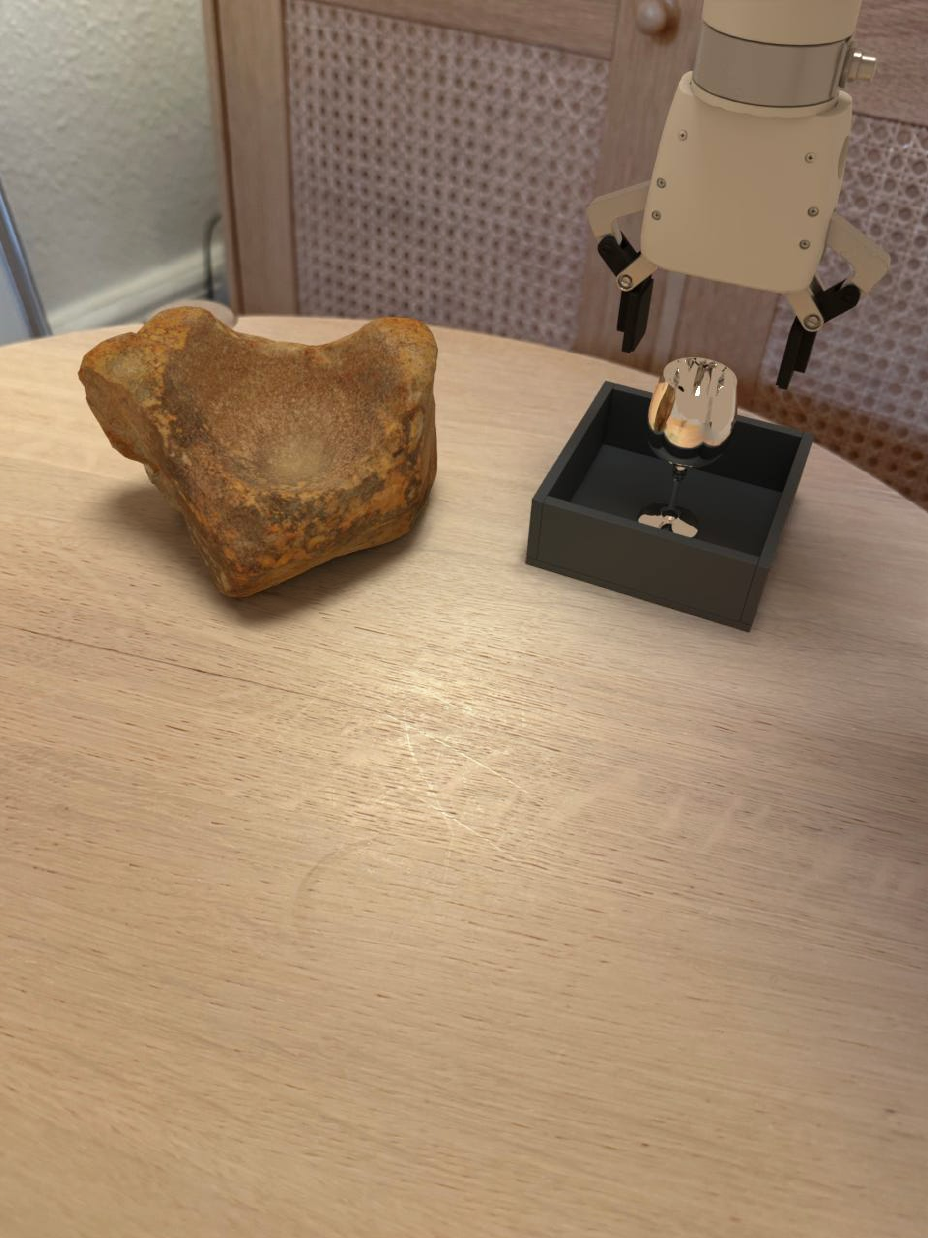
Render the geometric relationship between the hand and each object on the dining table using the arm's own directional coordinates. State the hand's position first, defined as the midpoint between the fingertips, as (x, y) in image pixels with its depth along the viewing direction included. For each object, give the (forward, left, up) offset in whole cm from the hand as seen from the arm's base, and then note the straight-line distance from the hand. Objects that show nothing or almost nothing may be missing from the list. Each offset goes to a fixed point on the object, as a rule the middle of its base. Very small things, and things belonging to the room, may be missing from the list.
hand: (708, 360), depth 67 cm
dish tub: (0, 0, -14) cm, 14 cm away
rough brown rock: (+24, +13, -14) cm, 31 cm away
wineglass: (0, 0, -14) cm, 14 cm away
